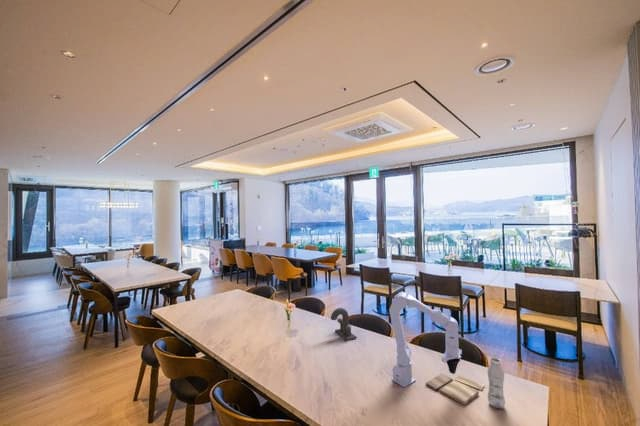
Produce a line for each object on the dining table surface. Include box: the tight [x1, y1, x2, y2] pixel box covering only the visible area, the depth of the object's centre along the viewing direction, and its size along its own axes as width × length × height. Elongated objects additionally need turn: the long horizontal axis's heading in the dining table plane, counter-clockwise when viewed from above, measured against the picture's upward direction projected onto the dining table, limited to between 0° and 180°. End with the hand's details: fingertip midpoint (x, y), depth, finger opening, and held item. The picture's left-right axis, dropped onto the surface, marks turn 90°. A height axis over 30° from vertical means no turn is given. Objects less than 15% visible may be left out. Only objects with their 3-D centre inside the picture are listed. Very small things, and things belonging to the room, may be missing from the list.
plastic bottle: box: [486, 357, 506, 410], centre depth 121 cm, size 6×7×20 cm
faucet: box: [330, 307, 358, 342], centre depth 194 cm, size 18×16×20 cm
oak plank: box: [438, 379, 480, 406], centre depth 129 cm, size 13×12×1 cm
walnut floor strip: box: [425, 373, 454, 392], centre depth 137 cm, size 14×6×1 cm, turn 125°
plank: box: [454, 375, 486, 392], centre depth 137 cm, size 5×12×1 cm, turn 46°
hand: (452, 372), depth 132 cm, fingers closed
